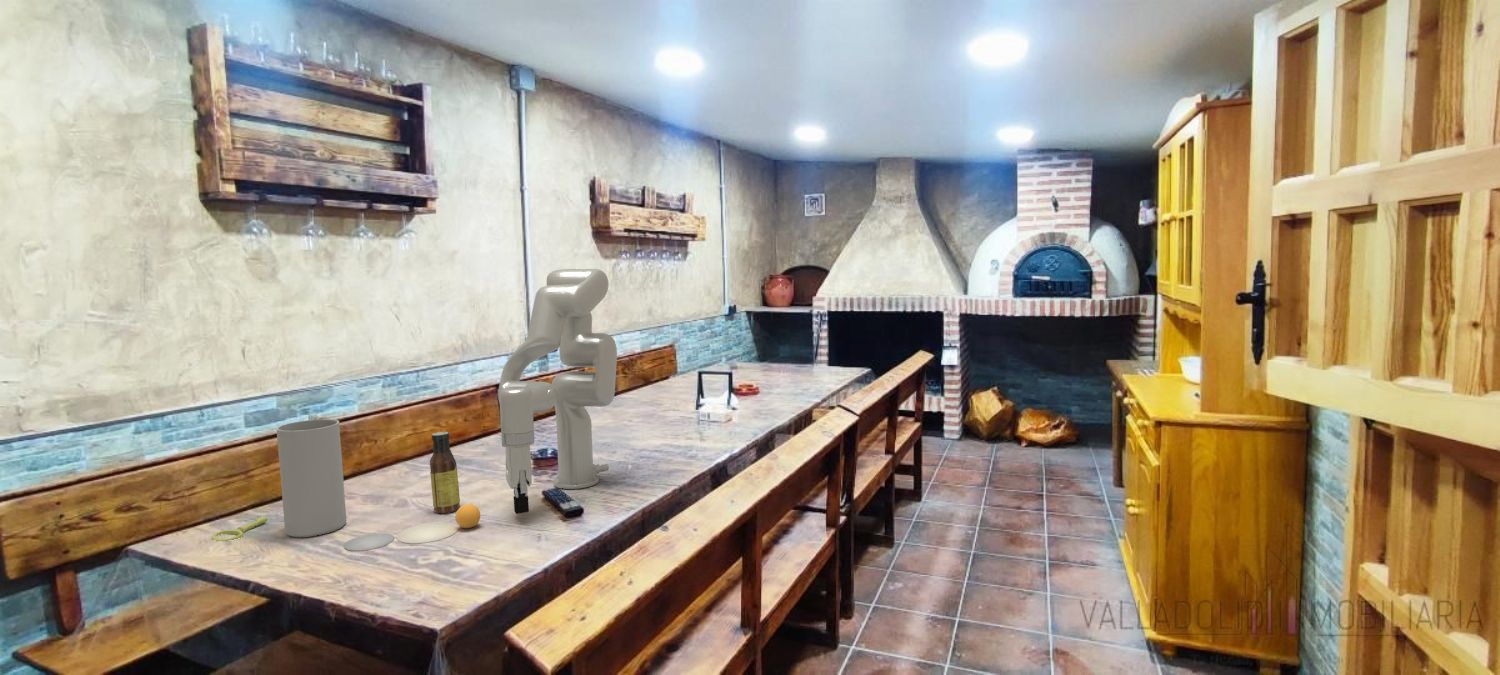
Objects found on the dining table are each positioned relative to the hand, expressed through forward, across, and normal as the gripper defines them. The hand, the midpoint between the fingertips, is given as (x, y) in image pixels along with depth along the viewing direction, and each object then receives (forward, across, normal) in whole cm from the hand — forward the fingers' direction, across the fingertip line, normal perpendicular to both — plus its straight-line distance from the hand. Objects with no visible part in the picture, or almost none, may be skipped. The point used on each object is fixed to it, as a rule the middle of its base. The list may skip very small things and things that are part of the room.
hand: (521, 511), depth 177 cm
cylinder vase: (+2, -16, -45) cm, 47 cm away
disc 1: (+2, 0, -33) cm, 33 cm away
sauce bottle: (+2, -15, -16) cm, 22 cm away
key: (+2, -22, -60) cm, 64 cm away
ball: (-1, +1, -12) cm, 12 cm away
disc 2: (+2, 0, -21) cm, 21 cm away
